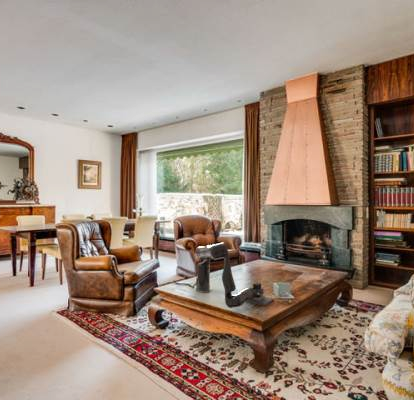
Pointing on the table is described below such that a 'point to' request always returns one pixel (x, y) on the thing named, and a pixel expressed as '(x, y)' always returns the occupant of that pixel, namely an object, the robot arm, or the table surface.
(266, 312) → the table surface
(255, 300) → the base pad
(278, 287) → the l-shaped corner panel
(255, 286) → the pad block
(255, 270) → the table surface
